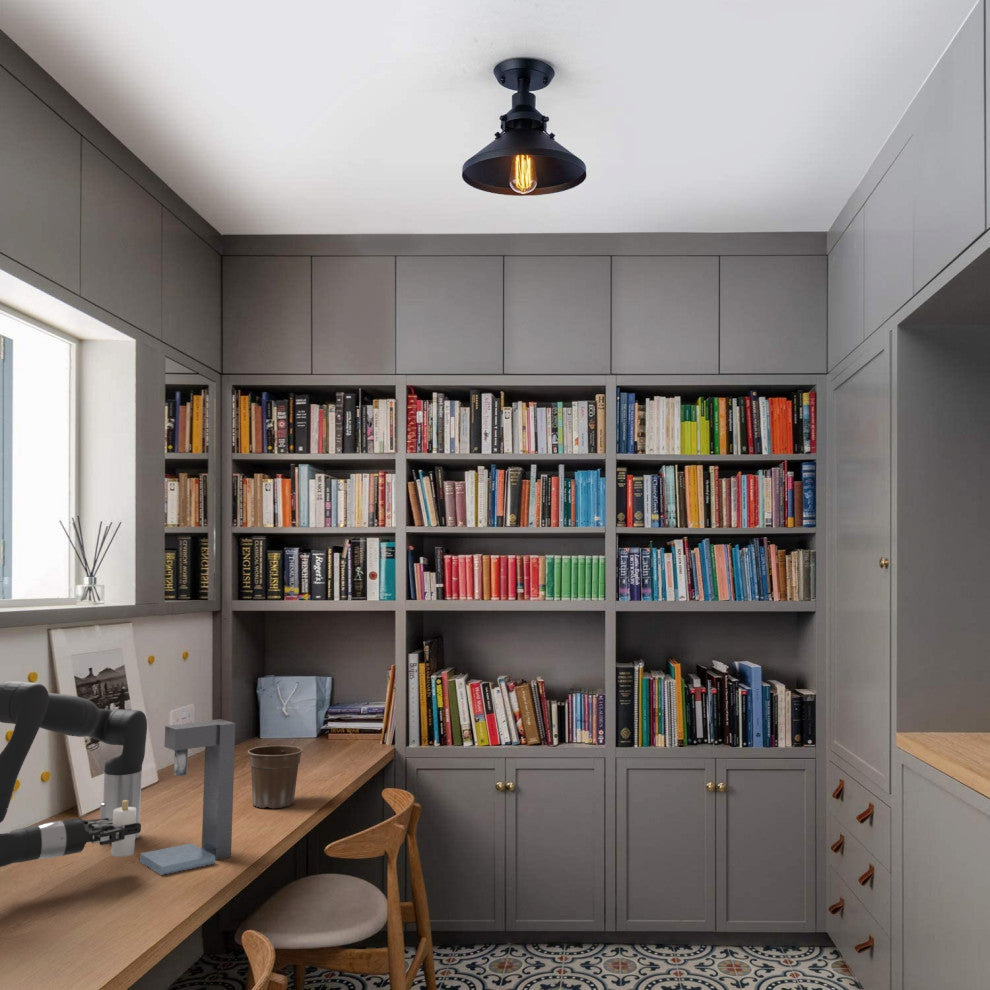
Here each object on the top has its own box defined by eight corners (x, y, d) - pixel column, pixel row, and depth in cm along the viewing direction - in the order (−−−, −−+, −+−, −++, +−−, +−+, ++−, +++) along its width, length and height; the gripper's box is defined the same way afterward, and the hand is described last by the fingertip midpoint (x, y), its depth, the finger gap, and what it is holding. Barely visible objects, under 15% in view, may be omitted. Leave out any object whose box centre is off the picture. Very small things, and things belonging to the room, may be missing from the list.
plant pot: (279, 794, 288) (280, 742, 289) (312, 803, 278) (313, 749, 279) (235, 804, 275) (236, 750, 277) (268, 814, 265) (269, 757, 266)
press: (161, 875, 212) (167, 733, 214) (125, 852, 228) (130, 720, 231) (235, 859, 224) (240, 724, 227) (196, 838, 241) (200, 713, 243)
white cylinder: (108, 857, 210) (111, 803, 211) (114, 850, 215) (117, 798, 216) (131, 856, 210) (133, 803, 211) (136, 850, 215) (139, 797, 216)
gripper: (70, 828, 198) (148, 814, 210) (49, 814, 209) (125, 802, 220) (68, 863, 198) (146, 848, 209) (48, 848, 208) (123, 834, 220)
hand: (135, 824), depth 215 cm, fingers closed on white cylinder, 5 cm apart
